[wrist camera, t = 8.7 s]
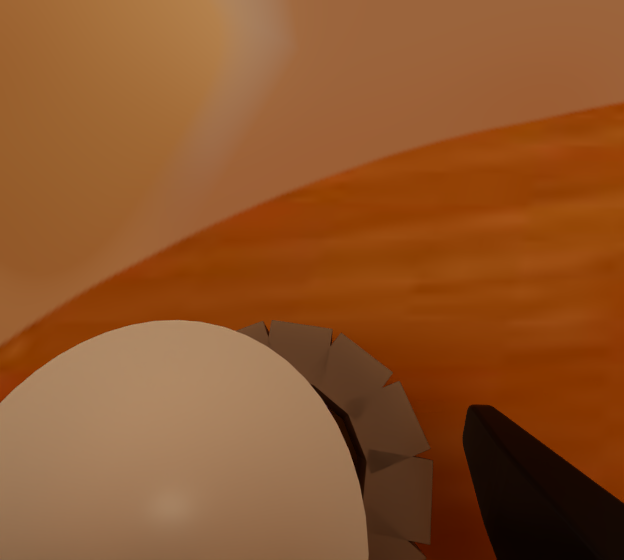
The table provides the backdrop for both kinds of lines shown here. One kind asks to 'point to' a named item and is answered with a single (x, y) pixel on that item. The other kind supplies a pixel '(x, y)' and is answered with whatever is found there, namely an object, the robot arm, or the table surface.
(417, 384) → the table surface
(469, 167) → the table surface
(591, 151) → the table surface
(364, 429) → the segmented block ring
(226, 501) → the tapered rounded pillar
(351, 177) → the table surface
